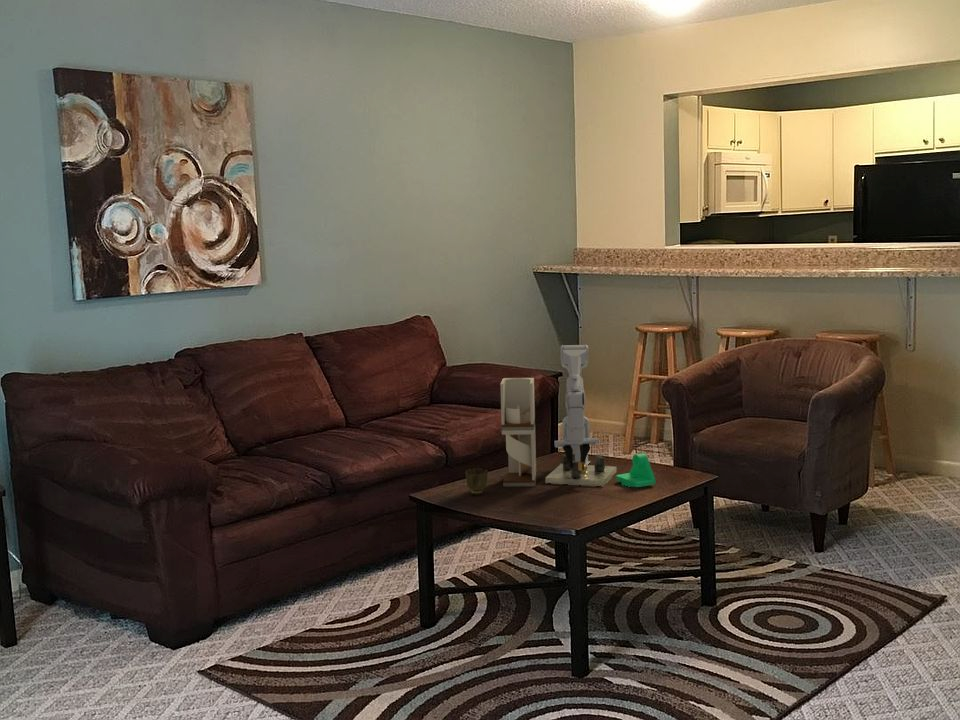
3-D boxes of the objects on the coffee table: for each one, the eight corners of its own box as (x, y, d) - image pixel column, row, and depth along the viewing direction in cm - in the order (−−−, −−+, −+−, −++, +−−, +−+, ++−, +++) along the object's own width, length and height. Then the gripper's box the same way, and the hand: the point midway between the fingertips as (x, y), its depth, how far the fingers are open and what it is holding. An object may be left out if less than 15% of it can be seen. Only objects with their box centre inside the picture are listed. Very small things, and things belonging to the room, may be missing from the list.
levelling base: (561, 469, 378) (560, 450, 377) (616, 472, 371) (616, 452, 370) (545, 483, 359) (544, 463, 358) (603, 486, 352) (603, 466, 351)
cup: (493, 493, 348) (492, 469, 347) (477, 498, 343) (476, 474, 342) (477, 489, 354) (476, 466, 353) (461, 494, 349) (460, 470, 348)
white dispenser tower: (505, 477, 368) (502, 378, 363) (536, 477, 367) (533, 377, 362) (503, 486, 357) (500, 383, 352) (534, 486, 356) (532, 383, 351)
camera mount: (615, 483, 358) (614, 453, 356) (633, 479, 361) (632, 450, 360) (637, 490, 347) (636, 460, 346) (655, 487, 351) (655, 456, 350)
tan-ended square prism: (567, 476, 359) (567, 462, 358) (572, 474, 362) (572, 460, 361) (580, 478, 356) (580, 464, 355) (586, 476, 359) (585, 461, 358)
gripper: (557, 430, 351) (558, 470, 353) (600, 428, 354) (600, 467, 356) (552, 426, 358) (553, 466, 360) (594, 423, 361) (594, 463, 363)
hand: (576, 466), depth 358 cm, fingers closed on tan-ended square prism, 3 cm apart
